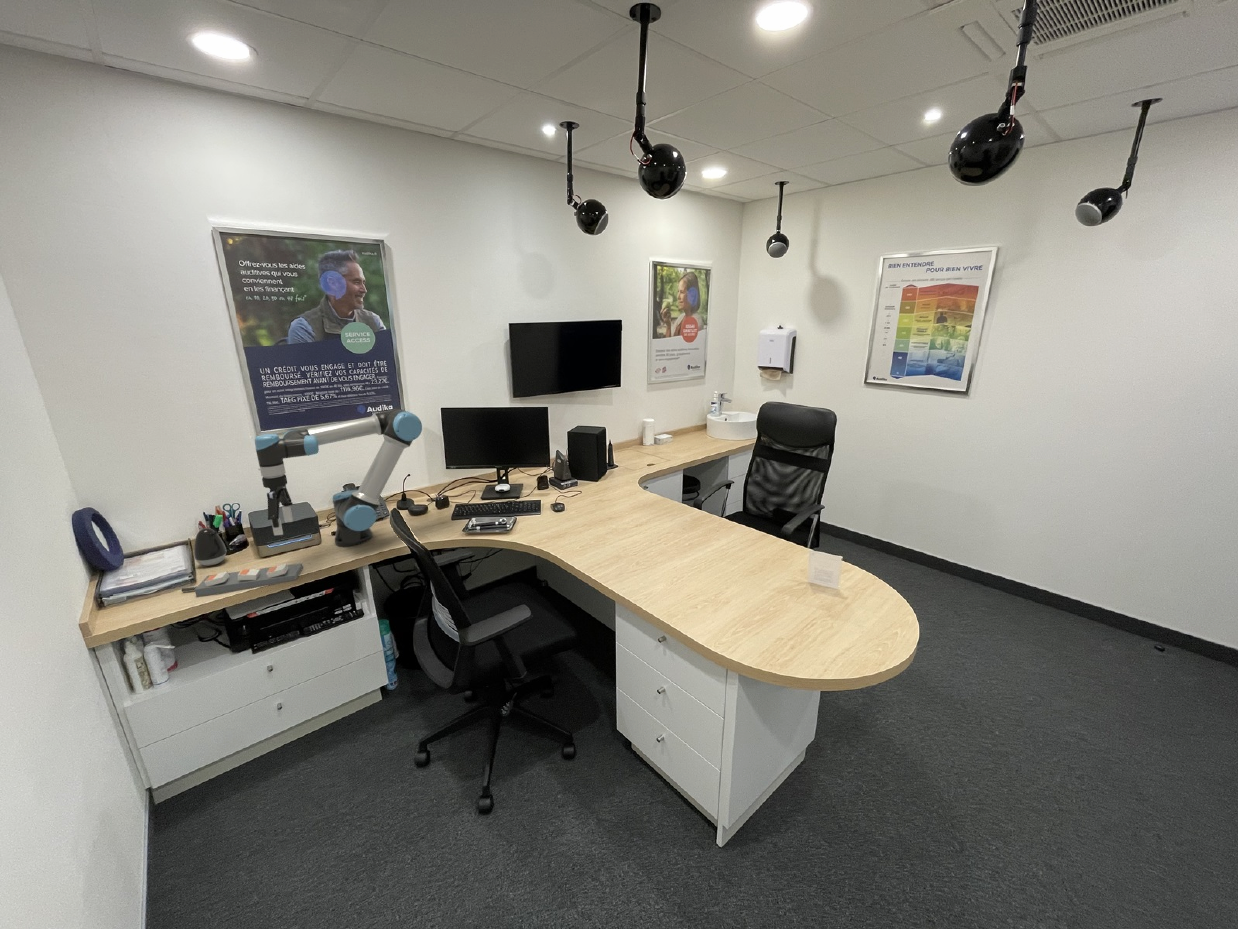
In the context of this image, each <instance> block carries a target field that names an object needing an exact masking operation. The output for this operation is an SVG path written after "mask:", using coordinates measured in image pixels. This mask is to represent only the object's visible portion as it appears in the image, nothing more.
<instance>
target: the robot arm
mask: <svg viewBox="0 0 1238 929" xmlns="http://www.w3.org/2000/svg"><path fill="white" fill-rule="evenodd" d="M422 431H423V424H422V421H421V419H420V417H418V416H417V415H416V414H414V413H413V412H410V411H407V410H403V409H399V408H394V409H390V410H385V411H380V412H376V413H373V414H372V415H371V416H369V417H368V416H367V417H363V418H358V419H353V420H346V421H341V422H337V423H332V424H331V423H330V424H326V425H321V426H316V427H311V428H310V427H309V428H307V429H299V430H294V429H293V430H288V431H286V432H285V433H284V434H283V436H282V438H280V436H279V435H278V434H275V433H269V434H268V433H266V434H260V435H258V436H255V438H254V445H255V452H256V456H257V461H258V465H259V468H258V471H260V474H261V477H262V478H261V481H262V485H263V488H265V489H269V492H267V493H266V496H267V497H266V498H267V521H270V522H271V527H272V532H273V536H283V535H284V531H283V525H282V520H281V518H280V503H281V505H282V507H281V509H282V514H283V515H282V516H283V520H284V523H292V522H294V518H293V513H292V507H291V506H293V502H292V498H291V496H290V493H289V492H288V489H287V484H288V480H287V475H286V468H285V462H284V459H290V458H299V457H305V456H313V455H316V454H319V450H320V449H319V446H323V445H327V444H331V443H337V442H341V441H342V442H343V441H347V440H351V439H355V438H361V437H364V436H365V437H366V436H371V435H378V436H381V435H382V436H383V439H384V440H383V442H382V444H381V446H380V448H379V449H378V451H377V453H376V455H375V457H374V459H373V461H372V463H371V465H370V467H369V468H368V471H367V473H366V474H365V476H364V478H363V480H362V481H361V484H360V485H359V487H358V489H352V490H346V491H341V492H337V493H335V494H333V495H332V504H333V510H334V515H335V521H336V522H335V523H336V531H335V535H334V545H335V546H336V547H338V548H349V547H356V546H359V545H362V544H365V543H368V542H369V541H370V540H372V538H374V535H373V532H372V529H371V528H372V527H373V525H374V524H375V523H376V521H377V511H378V509H379V506H380V504H381V503H380V500H379V499H380V496H381V495H382V492H383V490H384V489H385V486H386V484H387V483H388V481H389V479H390V477H391V475H392V473H393V472H394V469H395V467H396V465H397V464H398V462H399V459H400V458H401V455H402V454H403V452H404V450H405V449H407V448H409V447H411V445H412V444H413V441H414V440H416V439H418V438H419V436H420V435H421V434H422Z"/></svg>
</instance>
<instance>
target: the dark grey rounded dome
mask: <svg viewBox="0 0 1238 929" xmlns="http://www.w3.org/2000/svg"><path fill="white" fill-rule="evenodd" d="M227 551H228V550H227V547H226V545H225V543H224V541H223V540H222V538H221V537H220V535H219V533H218V531H217V530H214V529H212V528H210V527H206V528H202V529H200V530H198V532H197V533H196V536H195V538H194V546H193V556H194V560H195V561H196V562H197V564H198V565H202V566H209V567H210V566H211V567H212V566H215V565H217V564H220V563H222V562H223V561H224V559H225V558H226V555H227Z"/></svg>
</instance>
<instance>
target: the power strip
mask: <svg viewBox="0 0 1238 929" xmlns="http://www.w3.org/2000/svg"><path fill="white" fill-rule="evenodd" d="M287 565H288V570H287V571H286V573H285V574H282V575H278V576H275V577H271V578H268V576H267V572H268V571H269V569H270V568H272V567H273V566H271V567H270V566H269V567H263V568H259V569H260V575H259V576H258V578H257V579H256V580H238V574H239V573H240V572H241V570H240V571H232V572H228V574H229V577H228V578H227V580H226V581H225V582H222V583H219V584H215V585H211V586H208V587H207V586H206V584H205V581H206V580H207V579H208V578H209V576H212V575H213V574H211V575H209V574H208V575H207V576H206V577H205V578H204V579H203V580H202V581H201V582H200V583H199V584H198V585H197V586H190V587H182V588H181V592H183V593H184V592H191V591H194V592H195V593H194V594H195V597H196V598H199V597H200V598H201V597H207V596H213V595H220V594H226V593H234V592H240V591H243V590H244V591H245V590H250V589H254V588H255V589H256V588H260V587H266V586H272V585H276V584H282V583H288V582H294V581H297V579H298V577H299V575H300V573H301V572H302V570H303V569H304V566H303V562H301V563H294V564H293V563H292V564H287Z"/></svg>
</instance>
